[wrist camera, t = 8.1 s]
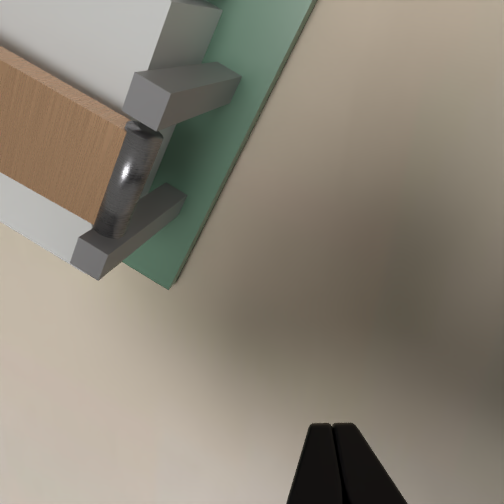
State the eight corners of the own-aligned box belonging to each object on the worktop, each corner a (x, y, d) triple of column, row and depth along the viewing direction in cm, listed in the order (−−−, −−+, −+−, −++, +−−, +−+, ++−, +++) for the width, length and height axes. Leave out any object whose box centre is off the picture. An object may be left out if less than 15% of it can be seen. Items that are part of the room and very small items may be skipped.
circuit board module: (323, -12, 15) (273, -48, 9) (175, 281, 21) (87, 380, 15) (-82, -249, 15) (-402, -444, 9) (-109, 108, 22) (-309, 136, 15)
